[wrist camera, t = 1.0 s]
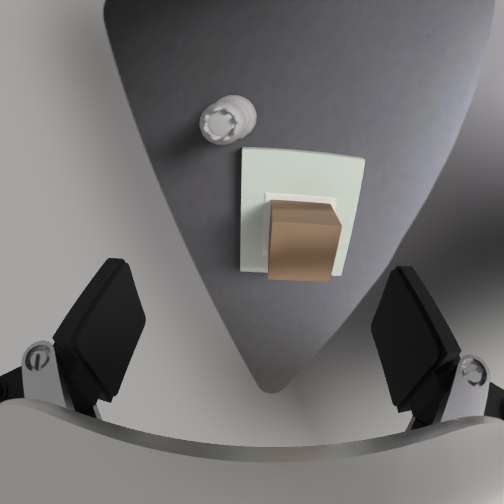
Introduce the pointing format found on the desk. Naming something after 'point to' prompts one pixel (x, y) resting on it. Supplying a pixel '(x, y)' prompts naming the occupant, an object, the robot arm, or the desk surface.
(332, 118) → the desk surface
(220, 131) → the rook chess piece
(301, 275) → the walnut block
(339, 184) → the build board
